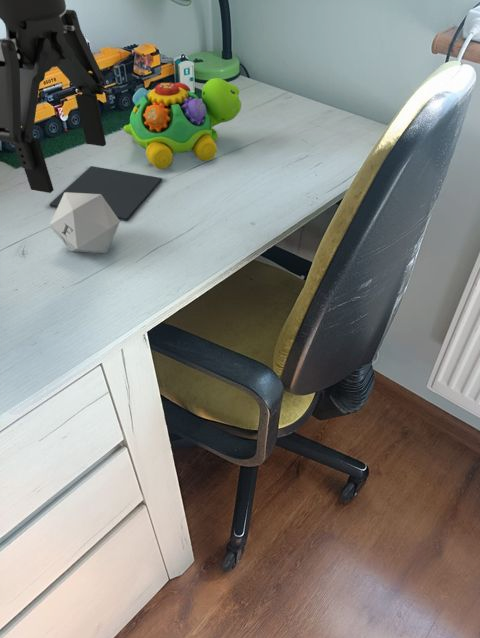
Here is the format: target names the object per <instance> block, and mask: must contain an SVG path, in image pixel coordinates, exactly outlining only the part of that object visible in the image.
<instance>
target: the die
mask: <svg viewBox="0 0 480 638" xmlns="http://www.w3.org/2000/svg"><path fill="white" fill-rule="evenodd" d="M120 223H121V220H120V219H118V218H117V216H116V215H115V213H114V212H113V210H112V209H111V208H110V206H109V205H108V203H107V202H106V200H105V199H104V198H103V196H102V195H101V194H87V193H68V192H64V194H63V197H62V199H61V201H60V203H59V205H58V208H56V209H55V212H54V214H53V217H52V219H51V221H50V223H49V225H48V226H49V227H50V228H51V230H53V232H54V233H55V234H56V235H57V237H58V238H59V239H60V240H61V241H62V243H64V245H65V246H66V247H67V248H68V249H69V250H70V251H71V252H74V253H75V252H76V253H92V254H93V253H95V254H107V252H108V251H109V248H110V245H111V243H112V242H113V239H114V237H115V234H116V232H117V230H118V227H119V226H120Z"/></svg>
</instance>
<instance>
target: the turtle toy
mask: <svg viewBox="0 0 480 638" xmlns="http://www.w3.org/2000/svg"><path fill="white" fill-rule="evenodd" d="M239 95H240V89H239V88H238V86H236V85H235V84H233V83H230V82H228V81H226V80H225V79H223V78H218V77H214V78H211V79H209V80H207V81H206V82H205V83H204V85H203V87H202V90H201V99H200V98H199V96H198V95H196V93H194V92H192V91H191V88H190V87H189V86H188V85H187V84H186V83H183V82H176V83H174V82H163V81H162V82H160V83H158V84H157V85H156V87H154V88H153V89H148V90H147V89H146V88H144V87H140V88H138V89H137V90H136V91H135V93H134V94H133V96H132V102H133V104H134V107H133V109H132V111H131V113H130V116H129V123H128V124H125V125H124V126H123V131H124V132H125V133H126V134H128V135H129V136H131V137H132V139H133V140H134V142H136V143H137V144H138V145H139V146H141V147H142V149H144V150H146V151H145V154H146V158H147V160H148V162H149V163H151V165H152V166H153V167H155V168H156V169H160V170H163V169H166V168H168V167H169V166H171V165H172V162H173V160H174V157H173V155H174V154H181V153H186V152H189V151H192V153H193V154H194V155H195V156H196V158H197V159H199V160H200V161H203V162H208V161H211V160H212V159H214V158H215V156H216V155H217V152H218V147H217V144H216V141H218V139H219V135H218V132H217V130H216V129H214V128H213V127H215V126H217V125H220V124H222V123H227V122H229V121H232V120H234V119H235V118H236V116H238V115H239V113H240V111H241V109H242V100H240V97H239Z"/></svg>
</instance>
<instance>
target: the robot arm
mask: <svg viewBox="0 0 480 638" xmlns="http://www.w3.org/2000/svg"><path fill="white" fill-rule="evenodd" d="M66 8H67V5H66V0H0V20H2V22H3V23H4V27H5V32H6V33H5V34H6V36H5V37H4V38H0V142H4V143H12V145H13V148H14V150H15V154H16V156H17V159H18V162H19V165H20V167H21V168H22V169H24V172H25V175H26V178H27V181H28V185H29V187H30V191H36V192H41V193H48V194H52V193H53V192H54V186H53V183H52V179H51V175H50V171H49V169H48V166H47V162H46V159H45V155H44V153H43V149H42V145H41V143H40V139H39V137H33V136H34V130H35V129H34V128H35V121H36V113H37V106H38V99H39V91H40V85H41V83H42V82H43V81H44V80H45V78H46V73H48V72H49V71H51V69H52V68H53V67H57V68H58V70H59V71H60V72H61V73H62V74H63V75H64V76H65V77H66V79H67V80H68V81H69V82H70V83H71V84H72V85H73V86H74V88H75V89H76V90H77V91H78V92H79V93H77V94H75V100H76V105H77V108H78V114H79V118H80V122H81V127H82V131H83V134H84V140H85V144H86V145H92V146H99V147H105V146H106V145H107V141H106V136H105V132H104V125H103V122H102V117H101V110H100V105H99V100H98V95H103V94H104V92H105V91H104V90H105V89H104V86H103V84H104V82H105V77H104V75H103V72H102V71H101V67H99V65H98V64H99V63H98V62H97V59H96V58H95V57H94V54H93V52H92V50H91V48H90V46H89V43H88V42H87V39H86V37H85V36H84V34H83V31H82V30H81V25H80V22H79V18H78V14H77V12H76V10H75V9H68V8H67V9H66ZM24 67H25V68H24Z"/></svg>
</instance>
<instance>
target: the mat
mask: <svg viewBox="0 0 480 638" xmlns="http://www.w3.org/2000/svg"><path fill="white" fill-rule="evenodd" d="M162 182H163V178H162V177H158V176H152V175H147V174H140V173H135V172H129V171H122V170H116V169H111V168H106V167H99V166H93V165H91V166H90V167H88V168H87V169H86V170H85V171H84V172H83V173H81V175H80V176H78V177H77V178H76V179H75V180H74V181H73V182H72V183H71V184H70V185H69V186H67V187H66V188H65V189H64V190H63V191H62V192H61V193H60V194H58V196H56V197H55V198H54V199H53V200H52V201H51V202H49V207H50V208H56V209H57V208H58V205H59V203H60V201H61V199H62V197H63V194H64V192H68V193H87V194H101V195H102V196H103V198H104V199H105V200H106V202H107V203H108V205H109V206H110V208H111V209H112V210H113V212H114V213H115V215H116V216H117V218H118V219H119V221H125V222H128V221H129V220H130V219H131V218H132V216H133V215H134V214H135V213H136V211H137V210H139V208H140V207H141V206H142V205H143V204H144V203H145V201H146V200H147V199H148V198H149V196H151V195H152V193H153V192H154V191H155V190H156V188H157V187H158V186H159V185H160V184H161V183H162Z"/></svg>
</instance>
